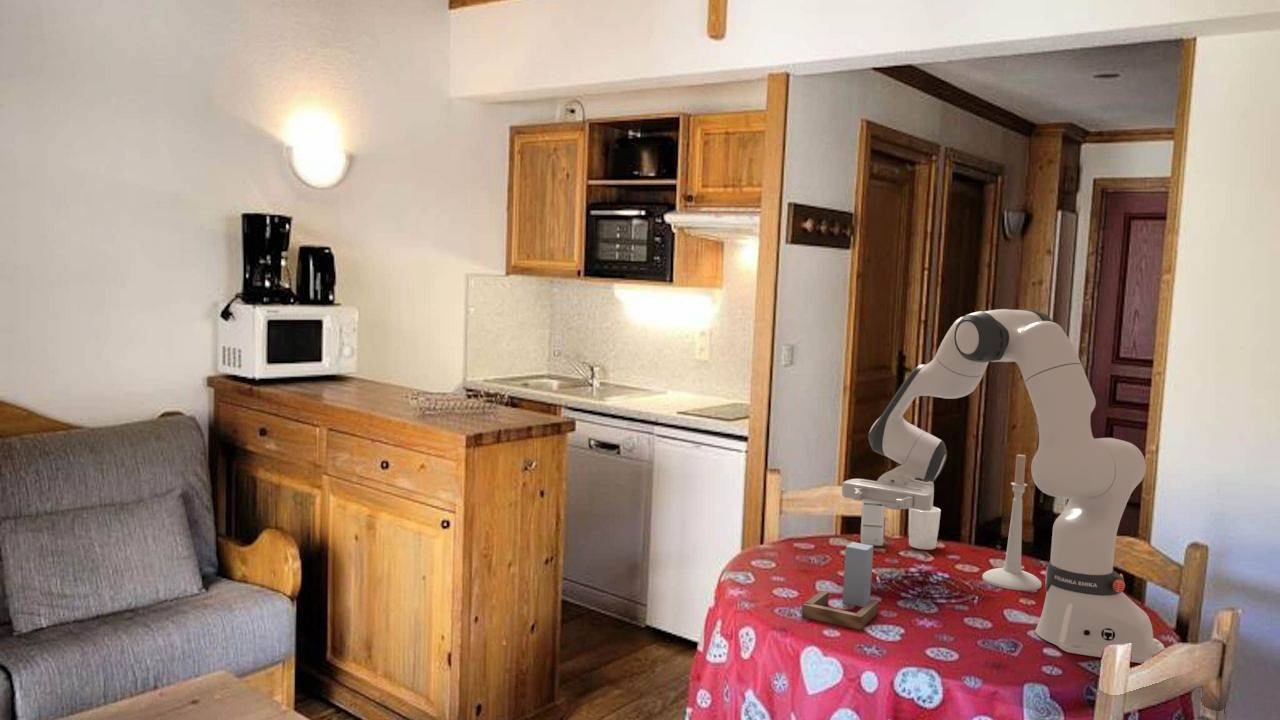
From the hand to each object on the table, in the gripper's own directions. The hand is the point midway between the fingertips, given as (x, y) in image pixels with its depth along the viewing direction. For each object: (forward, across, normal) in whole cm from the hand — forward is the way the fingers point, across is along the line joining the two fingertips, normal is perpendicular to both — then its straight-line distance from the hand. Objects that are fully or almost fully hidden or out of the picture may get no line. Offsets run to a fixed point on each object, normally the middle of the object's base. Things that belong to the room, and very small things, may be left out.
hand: (878, 500), depth 216 cm
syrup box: (-38, -12, +20) cm, 44 cm away
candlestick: (-25, +25, +20) cm, 40 cm away
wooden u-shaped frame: (+23, 0, +20) cm, 30 cm away
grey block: (+12, 0, +20) cm, 23 cm away
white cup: (-43, 0, +20) cm, 47 cm away
